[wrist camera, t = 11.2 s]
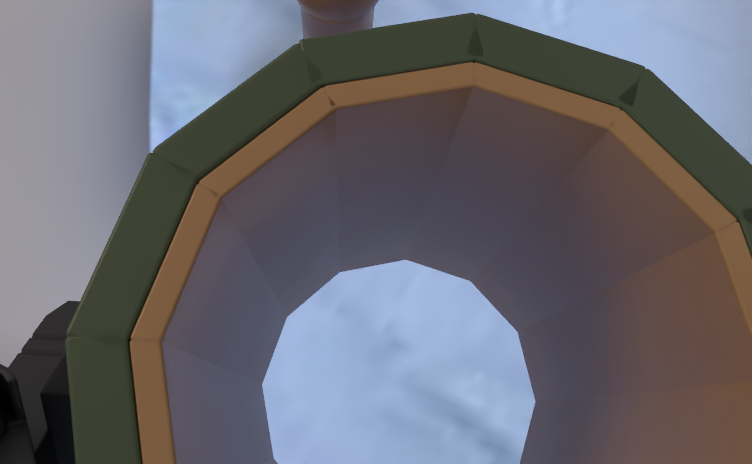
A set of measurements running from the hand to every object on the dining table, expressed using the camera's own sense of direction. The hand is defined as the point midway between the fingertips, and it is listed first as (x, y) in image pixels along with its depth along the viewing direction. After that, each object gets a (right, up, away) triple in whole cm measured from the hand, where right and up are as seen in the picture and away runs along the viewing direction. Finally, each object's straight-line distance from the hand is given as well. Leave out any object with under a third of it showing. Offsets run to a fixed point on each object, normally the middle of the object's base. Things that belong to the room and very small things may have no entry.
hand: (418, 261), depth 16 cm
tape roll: (0, -4, +3) cm, 5 cm away
